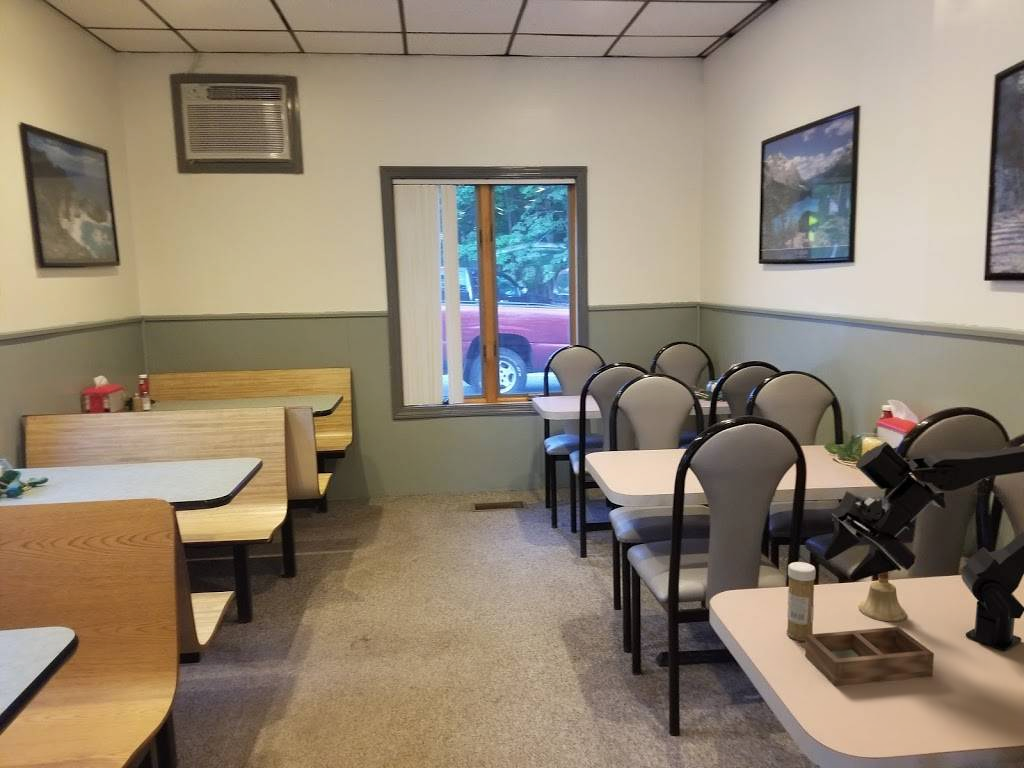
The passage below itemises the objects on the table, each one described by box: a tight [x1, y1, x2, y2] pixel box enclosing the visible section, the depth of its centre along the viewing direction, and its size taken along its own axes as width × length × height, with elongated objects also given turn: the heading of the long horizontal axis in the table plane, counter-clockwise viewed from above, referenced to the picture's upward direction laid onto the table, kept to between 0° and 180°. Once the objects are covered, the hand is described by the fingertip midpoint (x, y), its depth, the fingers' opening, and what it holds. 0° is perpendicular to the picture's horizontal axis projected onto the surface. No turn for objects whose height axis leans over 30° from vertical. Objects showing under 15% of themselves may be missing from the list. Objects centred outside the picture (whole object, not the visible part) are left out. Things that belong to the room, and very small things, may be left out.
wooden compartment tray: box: [804, 626, 935, 687], centre depth 120 cm, size 17×9×4 cm, turn 97°
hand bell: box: [858, 544, 907, 623], centre depth 137 cm, size 8×8×16 cm
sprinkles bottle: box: [786, 561, 817, 642], centre depth 129 cm, size 5×5×13 cm
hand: (837, 568), depth 129 cm, fingers open, 9 cm apart
